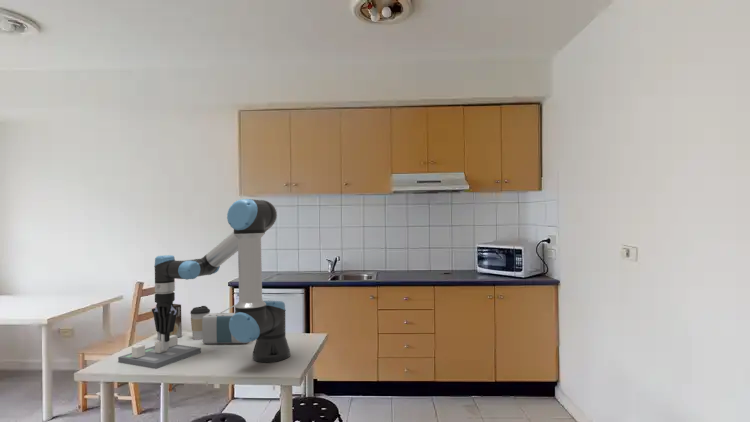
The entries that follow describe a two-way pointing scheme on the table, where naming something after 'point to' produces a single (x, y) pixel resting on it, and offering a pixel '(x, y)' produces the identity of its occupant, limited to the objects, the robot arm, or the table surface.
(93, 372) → the table surface
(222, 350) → the table surface
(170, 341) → the breaker handle
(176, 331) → the coffee box
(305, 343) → the table surface
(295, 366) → the table surface
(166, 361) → the breaker panel
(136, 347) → the block
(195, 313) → the coffee cup
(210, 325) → the stereo radio cassette player
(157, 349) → the block
